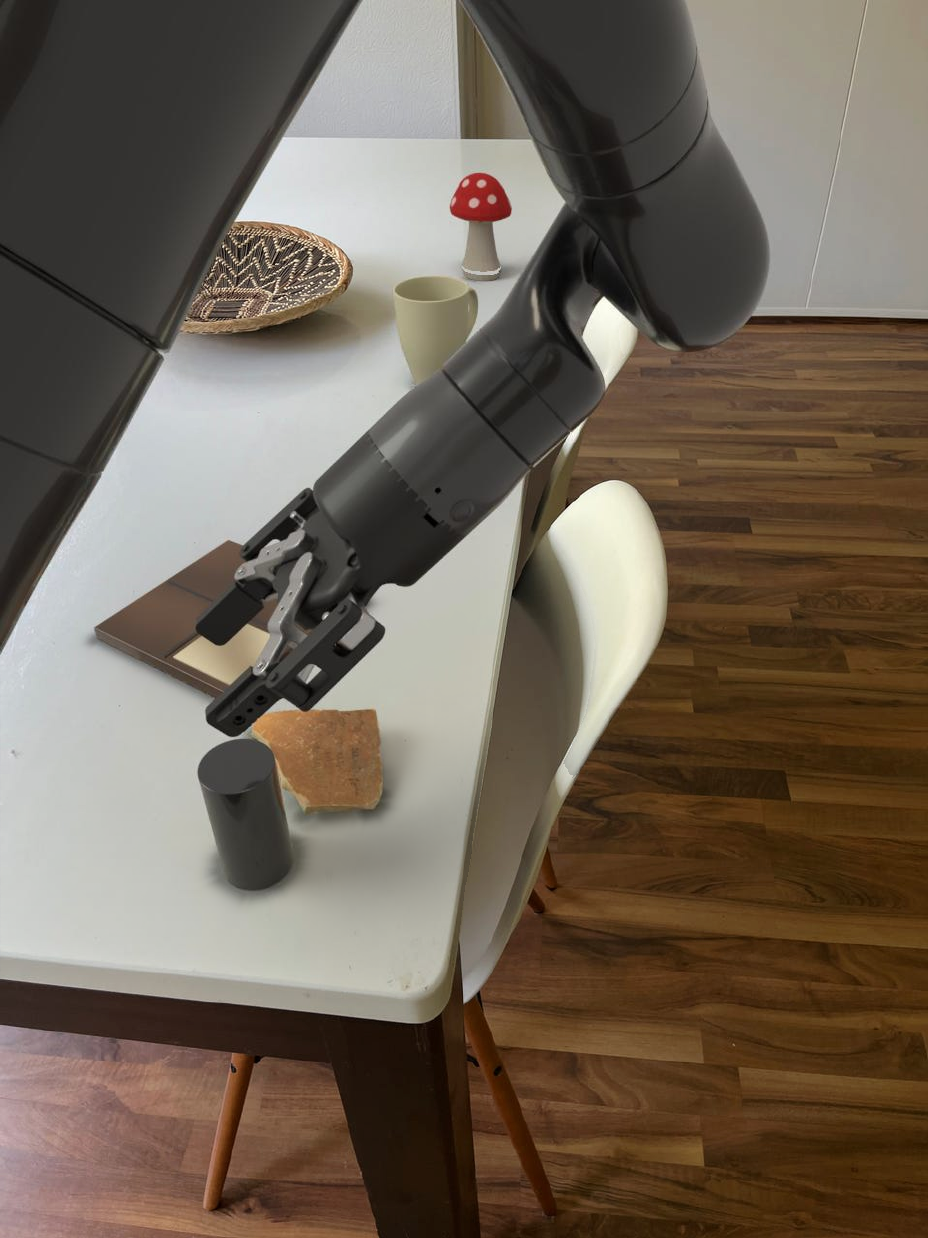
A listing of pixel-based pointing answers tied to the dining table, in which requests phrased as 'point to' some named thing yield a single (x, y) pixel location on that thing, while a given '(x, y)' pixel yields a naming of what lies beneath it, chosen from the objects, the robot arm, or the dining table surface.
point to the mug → (433, 321)
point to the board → (191, 625)
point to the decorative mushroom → (480, 221)
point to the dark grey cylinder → (246, 813)
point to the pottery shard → (326, 757)
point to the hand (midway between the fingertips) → (211, 678)
